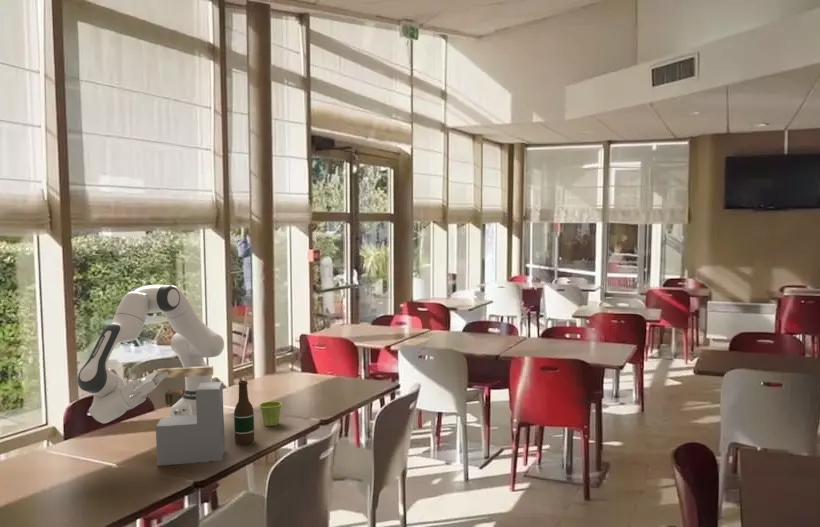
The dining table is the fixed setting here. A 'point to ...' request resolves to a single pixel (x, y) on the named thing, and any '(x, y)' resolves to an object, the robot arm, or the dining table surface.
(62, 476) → the dining table surface
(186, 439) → the stand
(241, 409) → the beer bottle
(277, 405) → the plant pot
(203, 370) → the stick
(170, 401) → the beverage carton
